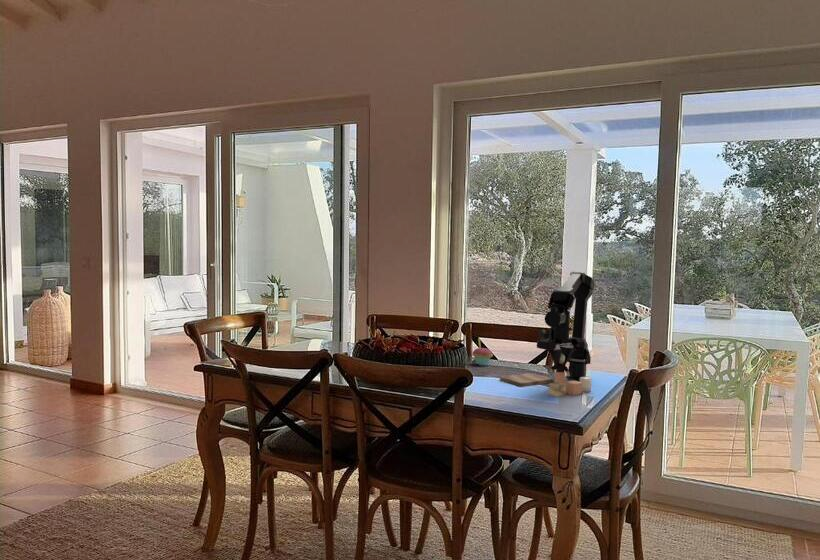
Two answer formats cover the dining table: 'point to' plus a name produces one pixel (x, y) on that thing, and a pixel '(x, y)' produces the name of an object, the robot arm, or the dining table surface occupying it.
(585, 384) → the off-white cylinder
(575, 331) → the robot arm
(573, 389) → the terracotta block
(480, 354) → the cupcake
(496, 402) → the dining table surface
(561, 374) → the grandmother figurine
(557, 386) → the beech block
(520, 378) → the walnut board
